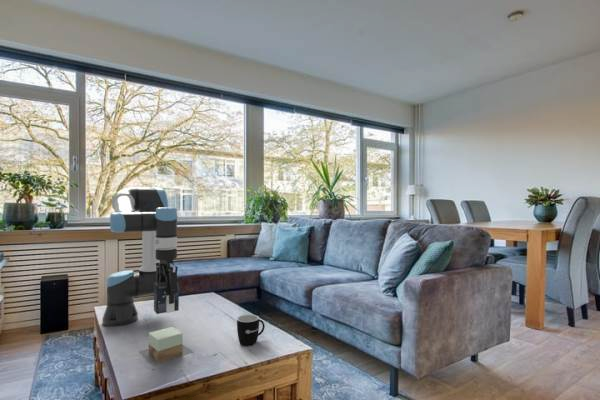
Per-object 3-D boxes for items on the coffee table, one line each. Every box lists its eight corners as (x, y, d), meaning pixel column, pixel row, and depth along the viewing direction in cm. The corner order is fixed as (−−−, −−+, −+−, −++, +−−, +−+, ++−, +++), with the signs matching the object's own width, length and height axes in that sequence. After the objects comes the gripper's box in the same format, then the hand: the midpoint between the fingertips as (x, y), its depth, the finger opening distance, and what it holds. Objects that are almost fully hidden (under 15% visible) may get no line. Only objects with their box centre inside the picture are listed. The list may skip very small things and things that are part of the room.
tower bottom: (148, 354, 125) (148, 343, 125) (172, 347, 132) (172, 336, 132) (158, 362, 119) (158, 351, 119) (182, 354, 125) (182, 343, 125)
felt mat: (138, 352, 127) (138, 351, 127) (176, 341, 138) (176, 340, 138) (153, 366, 117) (153, 365, 117) (193, 352, 127) (193, 351, 127)
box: (156, 314, 121) (156, 285, 121) (153, 310, 126) (153, 282, 126) (179, 310, 126) (179, 282, 126) (175, 307, 130) (175, 279, 130)
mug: (242, 349, 130) (242, 323, 130) (233, 341, 137) (233, 317, 138) (269, 342, 137) (269, 317, 137) (259, 335, 144) (259, 311, 144)
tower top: (148, 343, 125) (148, 333, 125) (172, 336, 132) (172, 326, 132) (158, 351, 119) (158, 340, 119) (182, 343, 125) (182, 333, 125)
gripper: (146, 246, 130) (146, 306, 130) (167, 252, 116) (167, 318, 116) (165, 245, 135) (165, 302, 135) (187, 249, 122) (187, 313, 122)
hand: (166, 309), depth 126 cm, fingers closed on box, 6 cm apart
